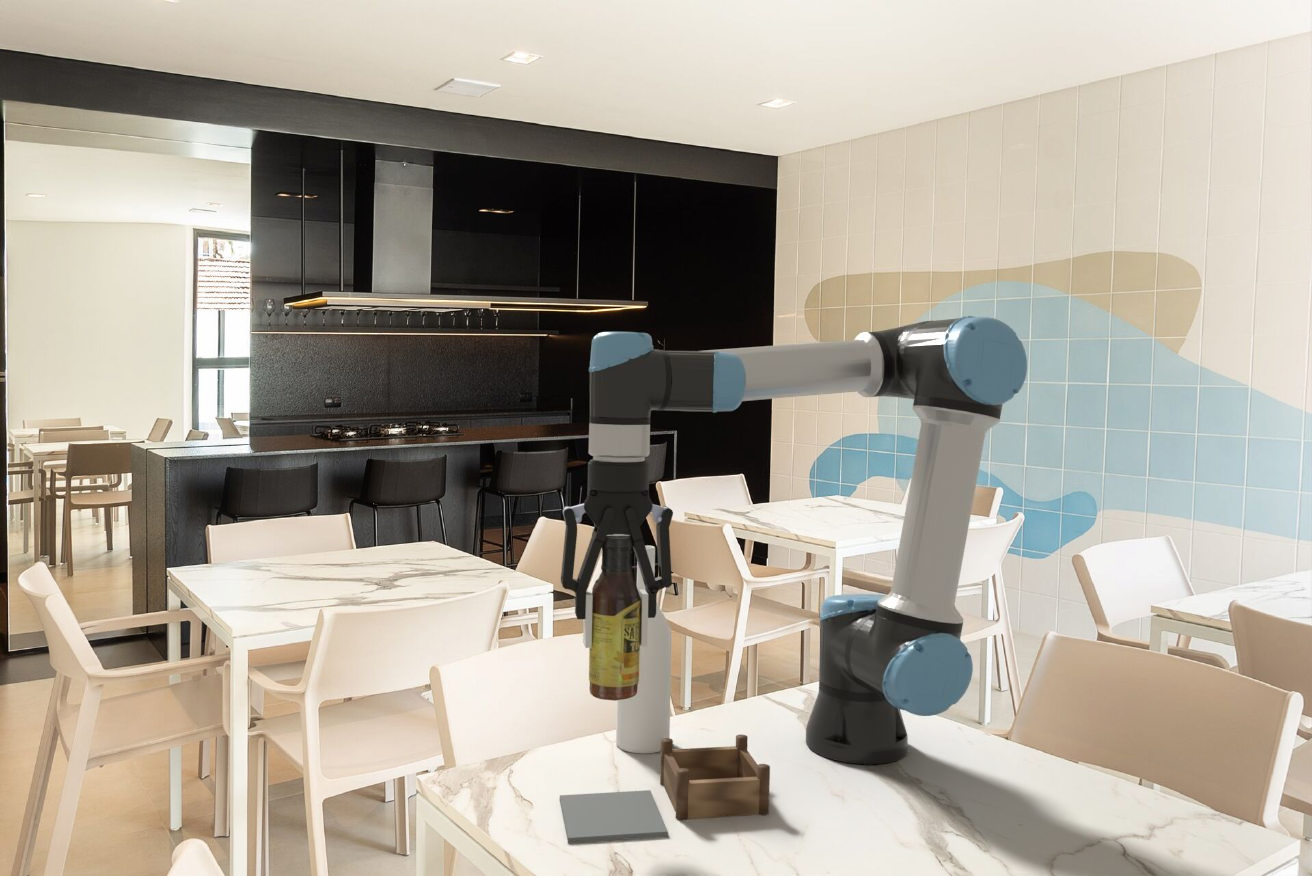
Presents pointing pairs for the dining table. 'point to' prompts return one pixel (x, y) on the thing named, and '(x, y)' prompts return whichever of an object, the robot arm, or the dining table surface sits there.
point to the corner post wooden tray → (714, 781)
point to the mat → (611, 816)
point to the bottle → (648, 687)
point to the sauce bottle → (615, 624)
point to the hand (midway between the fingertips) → (615, 643)
